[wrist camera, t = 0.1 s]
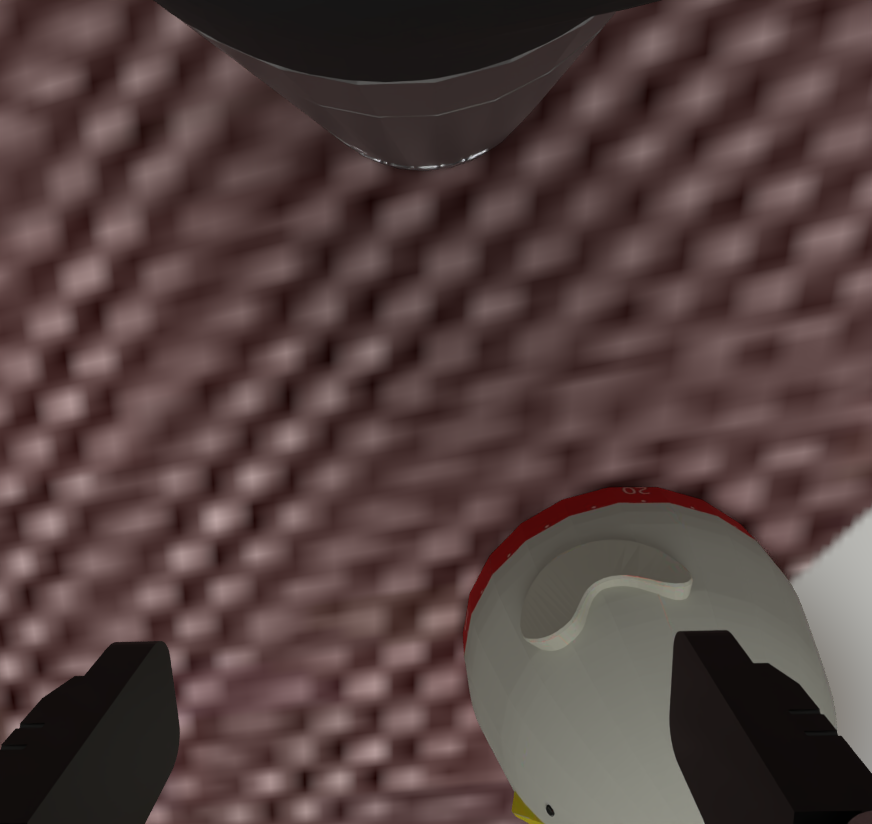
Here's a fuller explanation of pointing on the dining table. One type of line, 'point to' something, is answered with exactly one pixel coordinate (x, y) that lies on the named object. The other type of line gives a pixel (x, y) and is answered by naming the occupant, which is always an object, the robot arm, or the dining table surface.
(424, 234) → the dining table surface
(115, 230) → the dining table surface
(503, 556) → the kitchen timer
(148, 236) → the dining table surface
